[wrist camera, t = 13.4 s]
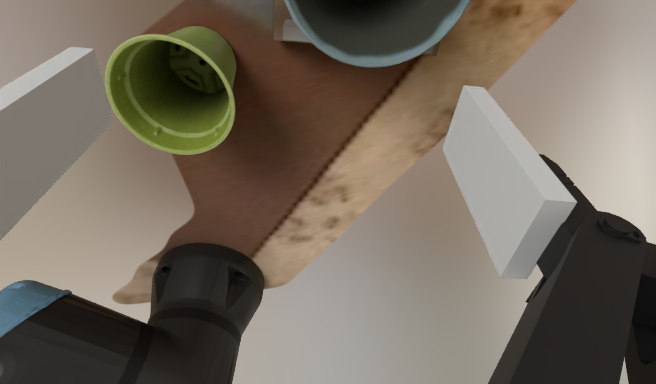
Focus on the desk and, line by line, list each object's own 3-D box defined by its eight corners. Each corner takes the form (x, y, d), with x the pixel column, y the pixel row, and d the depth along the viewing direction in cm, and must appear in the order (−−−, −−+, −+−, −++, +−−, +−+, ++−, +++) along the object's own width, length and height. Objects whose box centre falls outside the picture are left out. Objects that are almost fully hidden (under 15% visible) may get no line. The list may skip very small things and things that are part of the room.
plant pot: (134, 69, 35) (88, 113, 29) (174, -22, 31) (129, 4, 24) (225, 123, 39) (202, 173, 32) (273, 49, 34) (258, 89, 27)
